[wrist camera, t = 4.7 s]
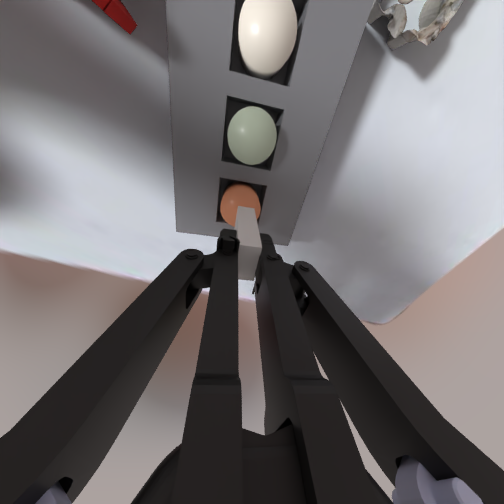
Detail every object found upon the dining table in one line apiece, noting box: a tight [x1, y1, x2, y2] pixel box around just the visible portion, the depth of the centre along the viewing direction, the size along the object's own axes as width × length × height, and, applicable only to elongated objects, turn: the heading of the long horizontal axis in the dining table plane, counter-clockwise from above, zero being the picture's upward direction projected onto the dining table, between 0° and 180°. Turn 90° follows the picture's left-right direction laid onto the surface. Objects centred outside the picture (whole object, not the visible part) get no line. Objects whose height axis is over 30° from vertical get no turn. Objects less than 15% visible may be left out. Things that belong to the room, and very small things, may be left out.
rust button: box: [220, 181, 261, 227], centre depth 20 cm, size 4×4×3 cm
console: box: [166, 0, 374, 246], centre depth 19 cm, size 14×22×5 cm, turn 169°
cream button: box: [238, 0, 297, 80], centre depth 14 cm, size 4×4×3 cm
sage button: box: [227, 106, 277, 165], centre depth 17 cm, size 4×4×3 cm
